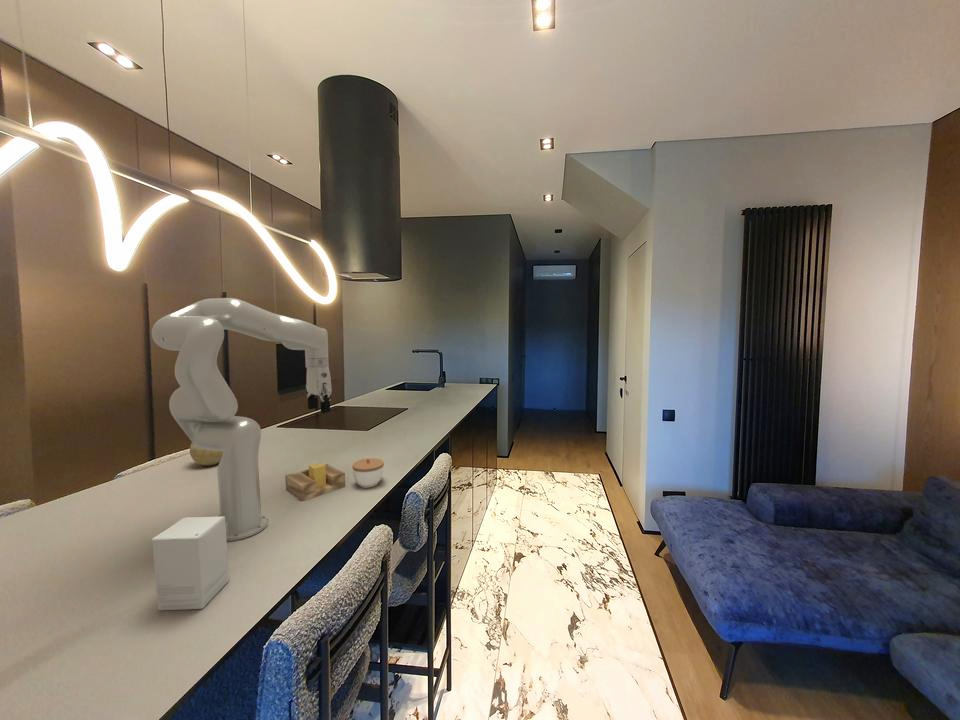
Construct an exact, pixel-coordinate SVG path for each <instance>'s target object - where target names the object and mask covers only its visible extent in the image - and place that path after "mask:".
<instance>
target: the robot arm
mask: <svg viewBox="0 0 960 720" xmlns="http://www.w3.org/2000/svg"><path fill="white" fill-rule="evenodd" d="M225 330H229V331H232V332H237V333H239V334H243V335H246V336H250V337H252V338H256V339H258V340H262V341H268V342H272V343H273V342H275V343H281V344H282V345H283V347H285V348H286V349H288V350H292V351H304V356H305V357H304V358H305V369H306V380H305V381H306V384H305V388H306V394H307V395H306V399H307V409H308V410H313V409H318V397H319V398H320V402H319V404H320V405H319V406H320V413H321V414H325V413H330V412H331V398H332V392H333V391H332V379H331V372H330V368H329V367H330V365H329V338H328V337H329V334H328V333H329V332H328V330H327V329H326V328H324V327H319V325H318V326H317V325H316V324H312V323H311V322H307V321H306V320H305V321H304V320H301V319H297V318H294V317H293V318H292V317H289V316H285V315H283V314H277V313H274V312H272V311H269V310H266V309H264V308H261V307H259V306H256V305H254V304H252V303H249V302H247V301H244V300H241V299H240V298H234V297H216V298H215V297H214V298H213V297H212V298H206V299H201V300H199V301H196V302H194V303H191V304H189V305H187V306H185V307H183V308H180V309H179V310H175V311H174V312H171V313H169V314H167V315H165V316H163V317H160V318H159V319H158V320H156V322H155V323H154V324H153V326H152V329H151V337H152V340H153V342H154V343H155V344H156V345H157V346H158V347H160V348H162V349H163V350H167V351H176V352H178V354H177V358H176V361H175V364H174V377H175V379H176V381H177V383H178V385H179V387H178V388H177V389H175V390H174V391H173V393H172V394H171V395H170V398H169V404H168V405H169V411H170V414H171V416H172V417H173V419H174V420H175V421H176V423H177V424H178V426H179V427H180V428H181V430H182V431H183V432H184V433H185V435H186V436H187V437H188V438H189V440H190V441H191V443H192V442H193V443H194V444H195V445H196V446H198V447H200V448H202V449H207V450H215V451H222V452H223V456H222V458H221V460H220V462H218V465H217V472H216V473H217V485H218V487H217V489H218V501H219V515H218V516H216V517H223V516H225V525H226V540H227V542H231V541H239V540H242V539H246V538H249V537H252V536H254V535H256V534H259V532H262V531H263V530H264V529H265V528H266V527H267V526H268V523H269V521H268V520H269V519H268V517H267V516H266V515H264V514H262V503H261V502H262V501H261V488H260V485H261V484H260V467H259V450H260V444H261V438H262V429H261V426H260V424H259V423H258V422H257V421H256V420H254V419H252V418H249V417H246V416H238V415H237V416H236V413H237V412H238V409H239V404H238V399H237V398H236V396H235V393H233V391H232V389H231V388H230V386H229V385H228V383H227V381H226V380H225V378H224V377H223V375H222V374H221V372H220V369H219V366H218V363H217V362H218V361H217V359H218V355H219V351H220V349H221V347H222V345H223V342H224V339H225Z"/></svg>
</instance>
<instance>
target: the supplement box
mask: <svg viewBox="0 0 960 720" xmlns="http://www.w3.org/2000/svg"><path fill="white" fill-rule="evenodd" d="M227 542H228V541H227V540H226V525H225V516H223V517H217V516H201V517H200V516H199V517H198V516H195V517H194V516H193V517H191V516H190V517H183V518H181V519H180V520H178V521H176V522H175V523H174V524H173V525H171V526H170V527H168V528H166V529H165V530H164V531H162V532H161V533H159V534H157V535H156V536H154V537H153V538H152V539H151V545H152V546H151V547H152V557H153V565H154V567H153V569H154V575H155V590H156V599H157V611H176V610H177V611H178V610H181V611H182V610H183V611H184V610H202V609H204V608H205V607H206V606H207V605H208V603H210V602H211V601H212V600H213V598H214V597H215V596H216V595H217V594H218V593H219V592H220V591H221V590H222V589H223V588H224V587H225V585H227V584H228V582H229V581H230V573H229V572H230V571H229V558H228V557H229V556H228V543H227Z"/></svg>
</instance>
